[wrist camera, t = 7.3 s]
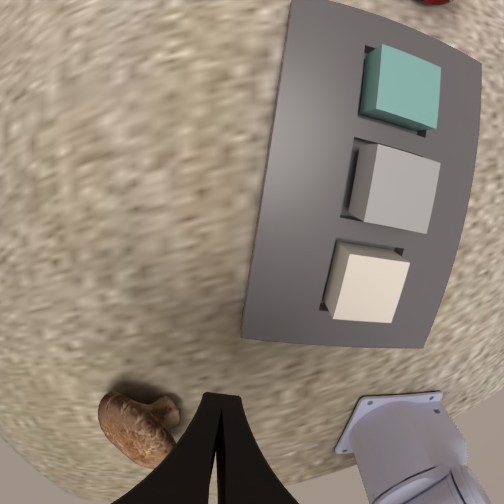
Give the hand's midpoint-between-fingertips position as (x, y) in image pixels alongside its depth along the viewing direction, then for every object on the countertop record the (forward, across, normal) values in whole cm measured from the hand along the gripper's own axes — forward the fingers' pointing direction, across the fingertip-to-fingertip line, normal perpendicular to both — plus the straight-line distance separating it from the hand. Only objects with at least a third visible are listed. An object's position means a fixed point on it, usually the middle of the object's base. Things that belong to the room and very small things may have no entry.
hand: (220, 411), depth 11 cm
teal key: (+10, -8, -15) cm, 20 cm away
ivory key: (+10, -8, -3) cm, 13 cm away
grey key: (+9, -8, -9) cm, 15 cm away
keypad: (+10, -8, -9) cm, 16 cm away
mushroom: (+11, +6, +12) cm, 17 cm away
